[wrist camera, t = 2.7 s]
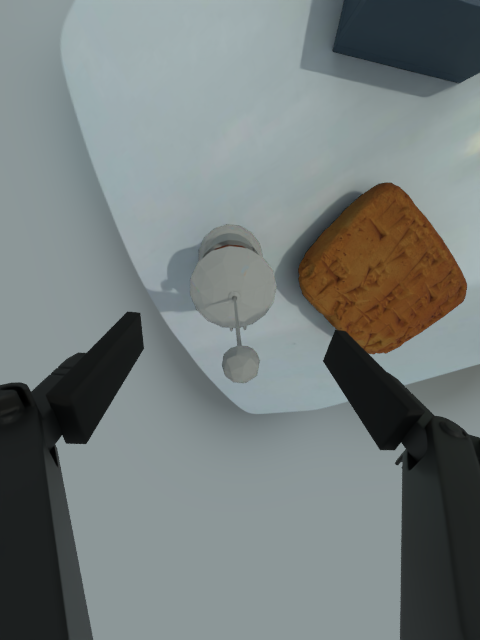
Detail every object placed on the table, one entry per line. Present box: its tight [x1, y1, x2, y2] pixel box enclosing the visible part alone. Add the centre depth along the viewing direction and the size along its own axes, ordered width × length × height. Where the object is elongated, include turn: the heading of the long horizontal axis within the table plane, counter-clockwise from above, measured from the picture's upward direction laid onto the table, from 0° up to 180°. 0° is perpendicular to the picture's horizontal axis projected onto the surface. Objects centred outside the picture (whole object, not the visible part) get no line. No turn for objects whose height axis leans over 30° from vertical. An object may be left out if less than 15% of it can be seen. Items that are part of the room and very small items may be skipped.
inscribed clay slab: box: [298, 183, 467, 354], centre depth 30 cm, size 22×17×8 cm
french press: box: [190, 225, 277, 383], centre depth 21 cm, size 10×12×25 cm
